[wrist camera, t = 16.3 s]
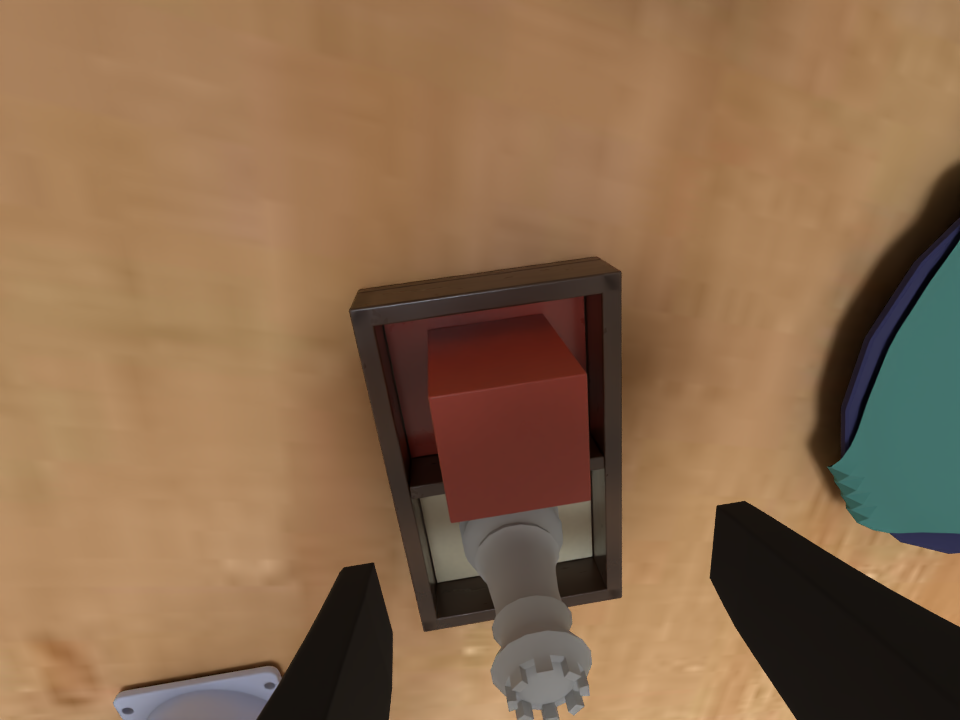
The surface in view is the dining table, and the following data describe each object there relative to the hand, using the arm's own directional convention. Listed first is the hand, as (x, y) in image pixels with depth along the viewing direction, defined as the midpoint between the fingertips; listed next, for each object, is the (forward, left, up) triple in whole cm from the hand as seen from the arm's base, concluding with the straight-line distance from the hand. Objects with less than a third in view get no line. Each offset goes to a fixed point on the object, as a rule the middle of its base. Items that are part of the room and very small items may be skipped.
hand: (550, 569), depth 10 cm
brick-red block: (0, 0, -10) cm, 10 cm away
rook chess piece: (-7, 0, -10) cm, 12 cm away
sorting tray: (-4, 0, -10) cm, 11 cm away
